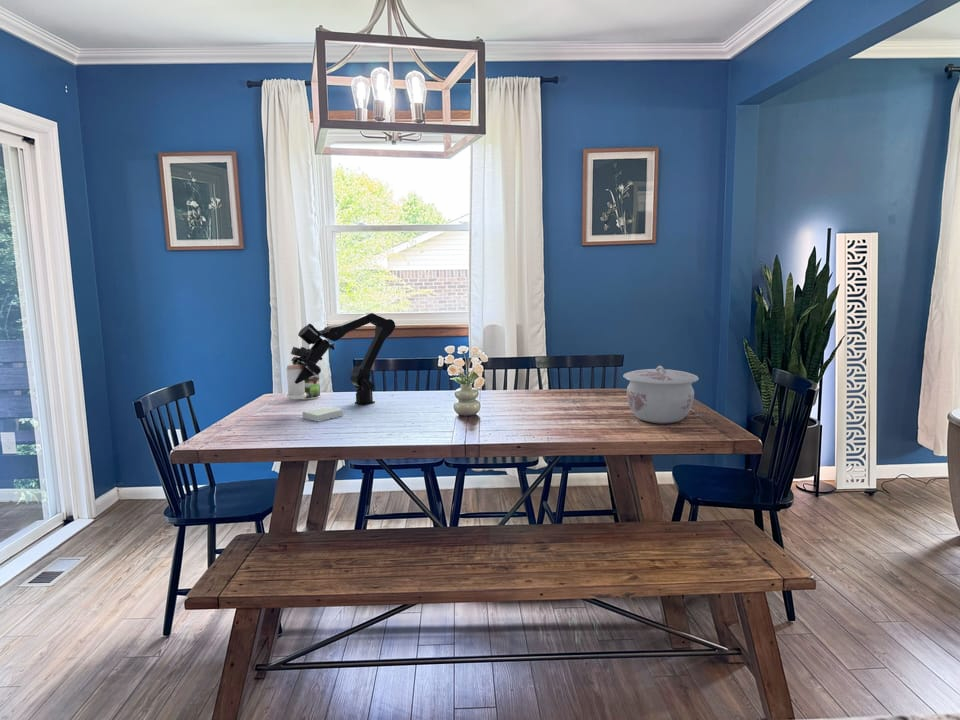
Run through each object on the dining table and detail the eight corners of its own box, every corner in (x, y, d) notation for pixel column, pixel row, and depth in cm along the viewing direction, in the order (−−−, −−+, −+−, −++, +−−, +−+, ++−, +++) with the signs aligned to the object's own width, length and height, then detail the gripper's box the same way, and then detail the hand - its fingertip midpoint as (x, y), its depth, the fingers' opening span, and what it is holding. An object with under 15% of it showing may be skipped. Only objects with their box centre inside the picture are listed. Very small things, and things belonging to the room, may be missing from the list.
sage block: (327, 412, 260) (327, 406, 259) (343, 415, 253) (342, 409, 253) (302, 417, 251) (302, 411, 250) (317, 421, 244) (317, 415, 244)
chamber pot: (675, 433, 222) (677, 374, 218) (608, 420, 240) (609, 366, 237) (710, 418, 241) (712, 364, 238) (645, 407, 260) (647, 357, 257)
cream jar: (298, 394, 262) (296, 363, 260) (310, 396, 258) (308, 365, 256) (283, 398, 256) (281, 366, 254) (295, 400, 252) (293, 367, 250)
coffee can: (325, 396, 290) (323, 366, 288) (306, 400, 282) (304, 369, 279) (310, 394, 296) (309, 364, 294) (292, 398, 288) (290, 367, 286)
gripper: (294, 337, 263) (269, 366, 259) (311, 341, 248) (285, 372, 244) (313, 353, 269) (290, 382, 264) (331, 359, 254) (306, 390, 249)
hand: (292, 381), depth 255 cm, fingers closed on cream jar, 7 cm apart
